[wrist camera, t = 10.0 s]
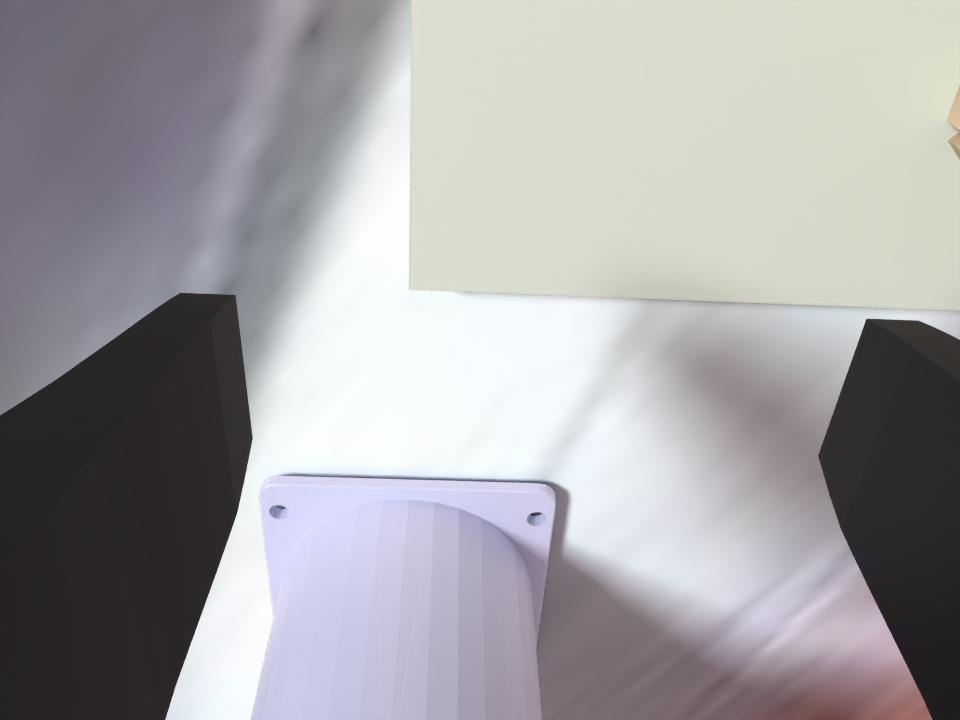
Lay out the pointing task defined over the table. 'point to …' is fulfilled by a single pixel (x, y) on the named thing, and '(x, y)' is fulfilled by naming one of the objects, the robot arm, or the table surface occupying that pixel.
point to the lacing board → (687, 150)
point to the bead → (955, 123)
